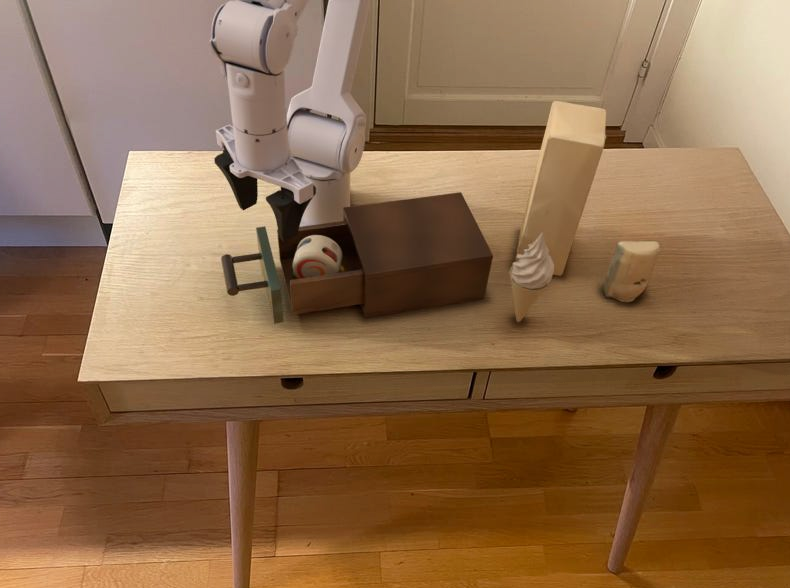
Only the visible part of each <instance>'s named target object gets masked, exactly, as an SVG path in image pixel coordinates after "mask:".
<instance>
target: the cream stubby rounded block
mask: <svg viewBox="0 0 790 588" xmlns="http://www.w3.org/2000/svg"><path fill="white" fill-rule="evenodd" d="M661 250H662V246H661V244H660V242H658V241H657V240H630V241H629V240H628V241H627V240H621V241H619V242H617V244H616V247H615V250H614V253H613V255H612V258H611V262H610V263H609V267H608V270H607V273H606V275H605V280H604V283H603V288H602V289H603V290H602V291H603V294H604V295H605V297H607V298H609V299H614V300H617V301H619V302H623V303H630V302H633V301H635V300H636V298H637V297H639V296H641V294H642V293H643V292H644V290H645V289H646V287H647V285H648V283H649V281H650V279H651V278H652V275H653V273H654V270H655V267H656V265H657V264H656V263H657V261H658V256H659V253H660V252H661Z"/></svg>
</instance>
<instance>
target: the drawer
mask: <svg viewBox="0 0 790 588" xmlns="http://www.w3.org/2000/svg"><path fill="white" fill-rule="evenodd" d="M255 233H256V240H257V241H256V242H257V249H258V252H257V253H249V254H242V255H235V256H232V255H231V254H228V253H225V254H223V255H221V258H220V260H221V261H220V262H221V267H222V271H223V278H224V283H225V288H226V293H227V295H228V296H230V297H233V296H235V297H236V296H237V295H239V293H240V292H244V291H251V290H258V289H265V290H266V295H267V299H268V303H269V307H270V312H271V316H272V320H273V324H281V323H282V324H283V323H284V322H285V321H284V310H283V299H282V289H281V284H280V280H279V277H278V273H277V269H276V268H277V267H276V264H275V260H274V256H273V251H272V247H271V243H270V240H269V239H270V238H269V235H268V231H267V228H266V226H257V227H255ZM312 235H322V236H325V237H328V238H330V239H332V240H333V241H335V242H336V243H337V244H338V246H339V247H340V249H341V251H342V262H341V265H342V266H343V268H344V272H342V273H335V274H328V275H321V276H315V277H308V278H301V279H297V278H295V276H294V275H293V260H294V257H295V254H296V251H297V248H298V245H299V243H300V242H301V241H302V240H303V239H304V238H306V237H308V236H312ZM276 237H277V249H278V259H279V264H280V268H281V271H282V276H283V280H284V284H285V287H286V292H287V296H288V301H289V304H290V308H291V311H292V316H295V315H301V314H307V313H313V312H319V311H326V310H332V309H338V308H345V307H351V306H357V305H361V304H364V287H365V274H364V271H363V268H362V265H361V262H360V259H359V256H358V254H357V251H356V248H355V245H354V242H353V239H352V236H351V233H350V231H349V228H348V225H347V222H346V221H339V222H332V223H324V224H317V225H309V226H302V227H299V230H298V234H297V236H295V237H293V238H291V239H290V240H288V241H286V242H284V241H283V240H281V238H280V236H279V233H278V229H277V230H276ZM254 261H259V264H260V267H261V272H262V277H263V280H262V281H261V280H260V281H255V282H249V283H241V284H239V283H238V279H237V273H236V269H235V264H239V263H245V262H246V263H247V262H254Z"/></svg>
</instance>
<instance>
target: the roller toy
mask: <svg viewBox="0 0 790 588" xmlns="http://www.w3.org/2000/svg"><path fill="white" fill-rule="evenodd" d="M341 262H342V251H341V249H340V247H339V246H338V244H337V243H336V242H335V241H333V240H332V239H330V238H328V237H325V236H322V235H312V236H308V237H306V238H304V239H303V240H302V241H301V242H300V243H299V245H298V248H297V251H296V254H295V257H294V260H293V275H294V276H295V278H297V279H301V278H308V277H315V276H321V275H328V274H335V273H342V272H344V268H343V266H342V265H341Z"/></svg>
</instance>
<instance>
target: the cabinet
mask: <svg viewBox="0 0 790 588" xmlns="http://www.w3.org/2000/svg"><path fill="white" fill-rule="evenodd" d="M343 221H346V222H347V225H348V228H349V231H350V233H351V236H352V239H353V242H354V245H355V248H356V251H357V254H358V256H359V259H360V262H361V265H362V268H363V271H364V274H365V287H364V304H360V307H361V310H362V313H363V316H364V318H371V317H378V316H385V315H389V314H390V315H391V314H396V313H402V312H407V311H414V310H422V309H428V308H434V307H439V306H445V305H451V304H457V303H463V302H469V301H475V300H483V299H485V298H486V292H487V287H488V282H489V278H490V272H491V269H492V262H493V259H494V254H493V252H492V250H491V248H490V246H489V243H488V242H487V241H486V239H485V236H484V234H483V233H482V230H481V228H480V226H479V225H478V222H477V220H476V218H475V217H474V214H473V213H472V210H471V209H470V206H469V205H468V203H467V201H466V198H465V197H464V195H463V193H462V192H461V191H459V192H452V193H444V194H436V195H435V194H434V195H429V196H421V197H414V198H405V199H398V200H389V201H383V202H374V203H367V204H359V205H351V207H343Z"/></svg>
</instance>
